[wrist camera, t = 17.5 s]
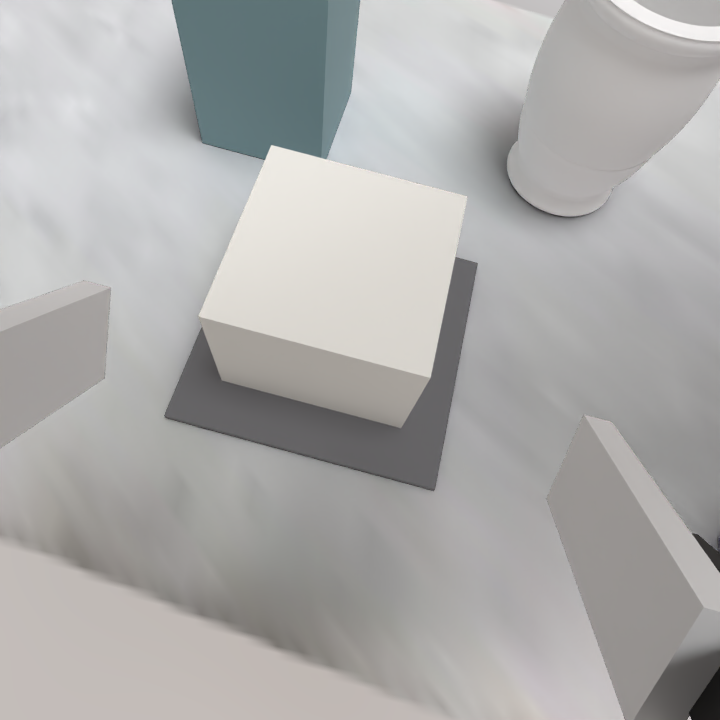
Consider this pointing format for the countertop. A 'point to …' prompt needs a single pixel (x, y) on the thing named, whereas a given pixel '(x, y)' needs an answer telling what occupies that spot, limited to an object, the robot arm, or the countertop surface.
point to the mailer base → (269, 71)
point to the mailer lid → (334, 286)
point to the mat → (332, 428)
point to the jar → (610, 96)
